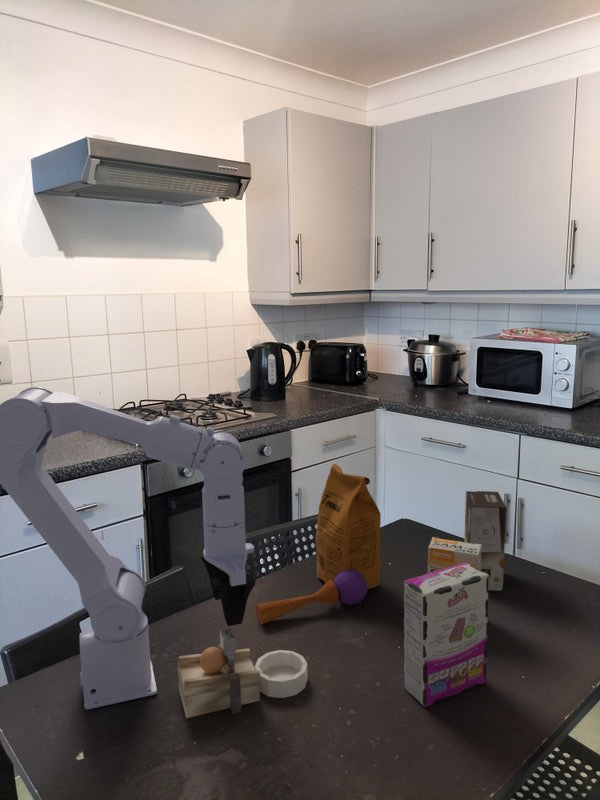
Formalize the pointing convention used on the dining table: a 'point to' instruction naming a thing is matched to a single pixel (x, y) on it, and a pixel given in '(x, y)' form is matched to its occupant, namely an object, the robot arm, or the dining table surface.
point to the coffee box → (487, 532)
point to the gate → (228, 649)
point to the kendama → (319, 596)
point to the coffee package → (348, 529)
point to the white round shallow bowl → (282, 673)
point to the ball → (212, 660)
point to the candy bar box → (445, 633)
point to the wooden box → (217, 685)
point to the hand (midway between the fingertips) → (227, 610)
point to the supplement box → (452, 554)
